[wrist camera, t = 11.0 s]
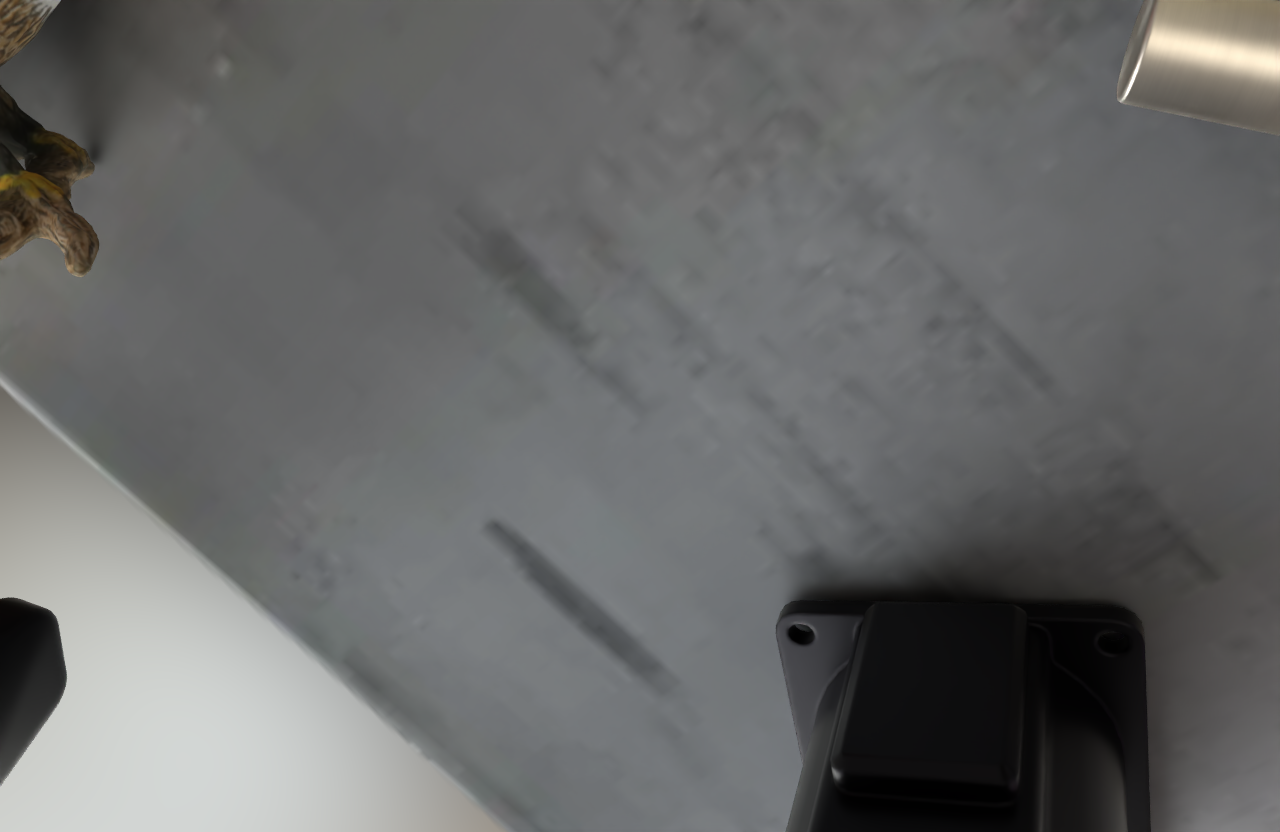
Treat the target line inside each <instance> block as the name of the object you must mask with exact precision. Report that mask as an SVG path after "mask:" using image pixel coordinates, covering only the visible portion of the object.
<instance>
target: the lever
mask: <svg viewBox="0 0 1280 832" xmlns="http://www.w3.org/2000/svg"><path fill="white" fill-rule="evenodd" d="M1117 100H1118V101H1119V102H1121V103H1122V104H1127V105H1132V106H1136V107H1141V108H1146V109H1151V110H1156V111H1161V112H1166V113H1171V114H1176V115H1181V116H1185V117H1190V118H1195V119H1200V120H1205V121H1210V122H1215V123H1220V124H1225V125H1229V126H1234V127H1239V128H1244V129H1249V130H1254V131H1259V132H1264V133H1269V134H1274V135H1278V136H1280V1H1278V0H1144V1H1143V4H1142V6H1141V9H1140V11H1139V14H1138V16H1137V19H1136V22H1135V25H1134V28H1133V31H1132V34H1131V37H1130V40H1129V43H1128V46H1127V49H1126V53H1125V56H1124V60H1123V64H1122V67H1121V71H1120V76H1119V80H1118V86H1117Z"/></svg>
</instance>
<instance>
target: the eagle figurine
mask: <svg viewBox="0 0 1280 832" xmlns="http://www.w3.org/2000/svg"><path fill="white" fill-rule="evenodd" d="M60 1H61V0H0V66H2V65H3V64H5V63H6V62H7V61H8V60H10V59H11V58H12V57H13V56H14V55H16V54H17V53H18V52H19V51H20V50H21V49H23V48H24V47H25V46H26V45H27V44H28V43H29V42H30V41H31V40H32V39H33V38H34V37H35V36H36V35H37V33H38V32H39V30H40V29H41V27H42V26H43V24H44V23H45V21H46V20H47V18H48V17H49V15H50V14H51V13H52V12H53V10H54V9H55V8H56V6H57V5H58V4H59V2H60ZM21 159H25V168H26V170H24V168H23V167H22V166H21V165H20V164H19V162H18V161H17V160H21ZM94 167H95V165H94V164H93V162H91V161H90V158H89V156H88V153H87V151H86V150H85V149H83V148H81V147H79V146H78V145H77V144H76V143H75V142H74V141H72V140H70V139H68V138H66V137H65V136H63V135H61V134H58V133H55V132H51V131H47V130H45V129H44V128H43V126H42V125H41V124H40V123H38V122H37V121H35V120H34V119H32V118H31V117H30V116H28V115H27V114H26V113H24V112H23V111H22V110H21V109H20V108H19V107H18V106H17V104H16V102H15V100H14V99H13V98H12V97H11V96H10V95H9V94H8V93H7V92H6V91H5V90H4V89H3V88H2V87H1V85H0V260H2V259H4V258H6V257H8V256H10V255H11V254H13V253H14V252H16V251H17V250H19V249H20V248H21V247H22V246H24V245H25V244H26V243H28V242H29V241H31V240H33V239H35V238H46V239H49V240H51V241H53V242H54V243H55V244H57V245H58V246H59V247H60V248H61V250H62V251H63V253H64V254H65V263H66V267H67V269H68V271H69V272H70V273H71V274H73V275H75V276H78V277H83V276H85V275H86V274H87V273H88V272H89V271H90V270H91V267H92V264H93V262H94V260H95V258H96V255H97V252H98V249H99V240H98V238H97V234H96V233H95V232H94V230H93V228H92V226H91V225H90V224H89V223H88V222H87V221H86V220H85V219H84V218H83V217H82V216H80V215H78V214H77V213H74V211H73V208H72V206H71V203H70V201H69V199H70V198H71V186H72V185H73V183H74V182H75V181H76V180H79V179H83V178H86V177H88V176H90V175H91V174H92V173H93V171H94Z"/></svg>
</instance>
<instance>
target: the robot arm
mask: <svg viewBox="0 0 1280 832" xmlns="http://www.w3.org/2000/svg"><path fill="white" fill-rule="evenodd" d="M794 624H804V625H807V626H808V627H810V628H811V629H812V630H813V631H809V632H807V631H802V630H800V629H798V628H797V627H796V626H795V625H794ZM1107 632H1117V633H1121V634H1123V635H1124V636H1125V637H1123V638H1122V639H1119V640H1110V639H1105V638H1104V637H1103V636H1101V635H1103V634H1104V633H1107ZM776 637H777V642H778V647H779V651H780V656H781V661H782V666H783V671H784V676H785V681H786V685H787V690H788V695H789V700H790V705H791V710H792V715H793V719H794V724H795V729H796V734H797V739H798V744H799V749H800V753H801V758H802V763H803V768H802V772H801V776H800V780H799V784H798V787H797V791H796V795H795V799H794V803H793V807H792V810H791V814H790V818H789V822H788V826H787V829H786V832H1151V824H1150V792H1149V760H1148V728H1147V696H1146V664H1145V639H1144V628H1143V625H1142V622H1141V620H1140V619H1139V618H1138V617H1137V616H1136V614H1135V613H1133V612H1131V611H1129V610H1127V609H1125V608H1122V607H1116V606H1091V605H1037V604H997V603H942V602H887V601H880V602H873V601H818V600H799V601H793V602H790V603H789V604H787V605H785V606H784V608H783V609H782V611H781V613H780V616H779V619H778V622H777V625H776ZM66 681H67V672H66V666H65V661H64V655H63V649H62V643H61V637H60V631H59V625H58V621H57V618H56V616H55V615H54V614H53V613H52V612H51V611H50V610H48V609H46V608H43V607H40V606H38V605H35V604H32V603H29V602H26V601H24V600H21V599H18V598H2V599H0V786H1V785H2V784H3V782H4V781H5V779H6V778H7V776H8V775H9V774H10V772H11V771H12V769H13V768H14V767H15V765H16V764H17V762H18V761H19V759H20V758H21V757H22V755H23V754H24V752H25V751H26V749H27V748H28V747H29V745H30V744H31V742H32V741H33V740H34V738H35V736H36V735H37V734H38V732H39V731H40V730H41V728H42V727H43V725H44V724H45V722H46V721H47V720H48V718H49V717H50V715H51V714H52V712H53V711H54V710H55V708H56V707H57V705H58V704H59V702H60V699H61V698H62V696H63V693H64V690H65V687H66Z"/></svg>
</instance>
